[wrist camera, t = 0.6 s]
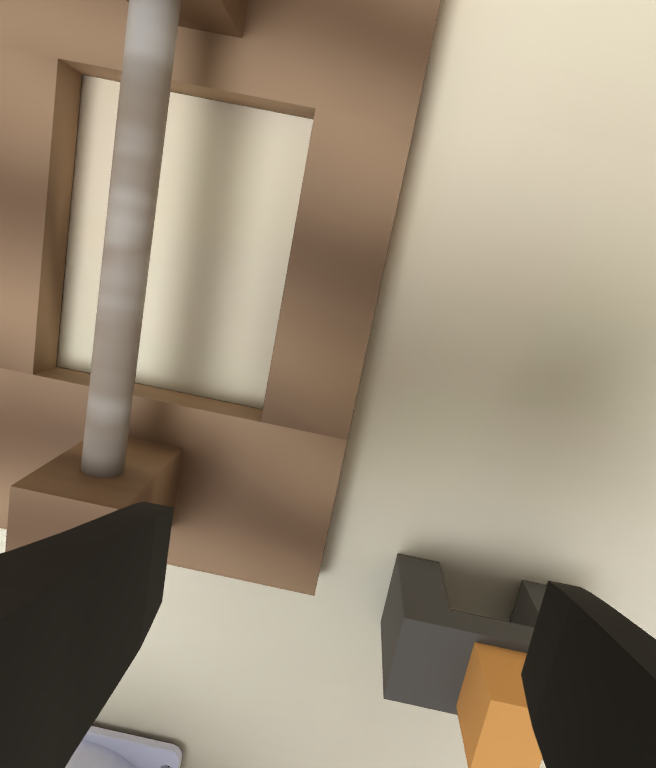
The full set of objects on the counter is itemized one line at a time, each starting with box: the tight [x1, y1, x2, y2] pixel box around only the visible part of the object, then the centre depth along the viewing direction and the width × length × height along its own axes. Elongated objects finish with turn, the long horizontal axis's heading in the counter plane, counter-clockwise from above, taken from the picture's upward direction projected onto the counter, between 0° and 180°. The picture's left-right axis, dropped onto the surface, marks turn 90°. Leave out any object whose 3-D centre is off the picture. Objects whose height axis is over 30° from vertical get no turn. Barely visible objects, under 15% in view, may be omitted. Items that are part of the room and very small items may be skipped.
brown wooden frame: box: [0, 0, 441, 596], centre depth 17 cm, size 22×14×6 cm, turn 169°
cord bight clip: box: [381, 554, 547, 768], centre depth 19 cm, size 3×6×6 cm, turn 79°
